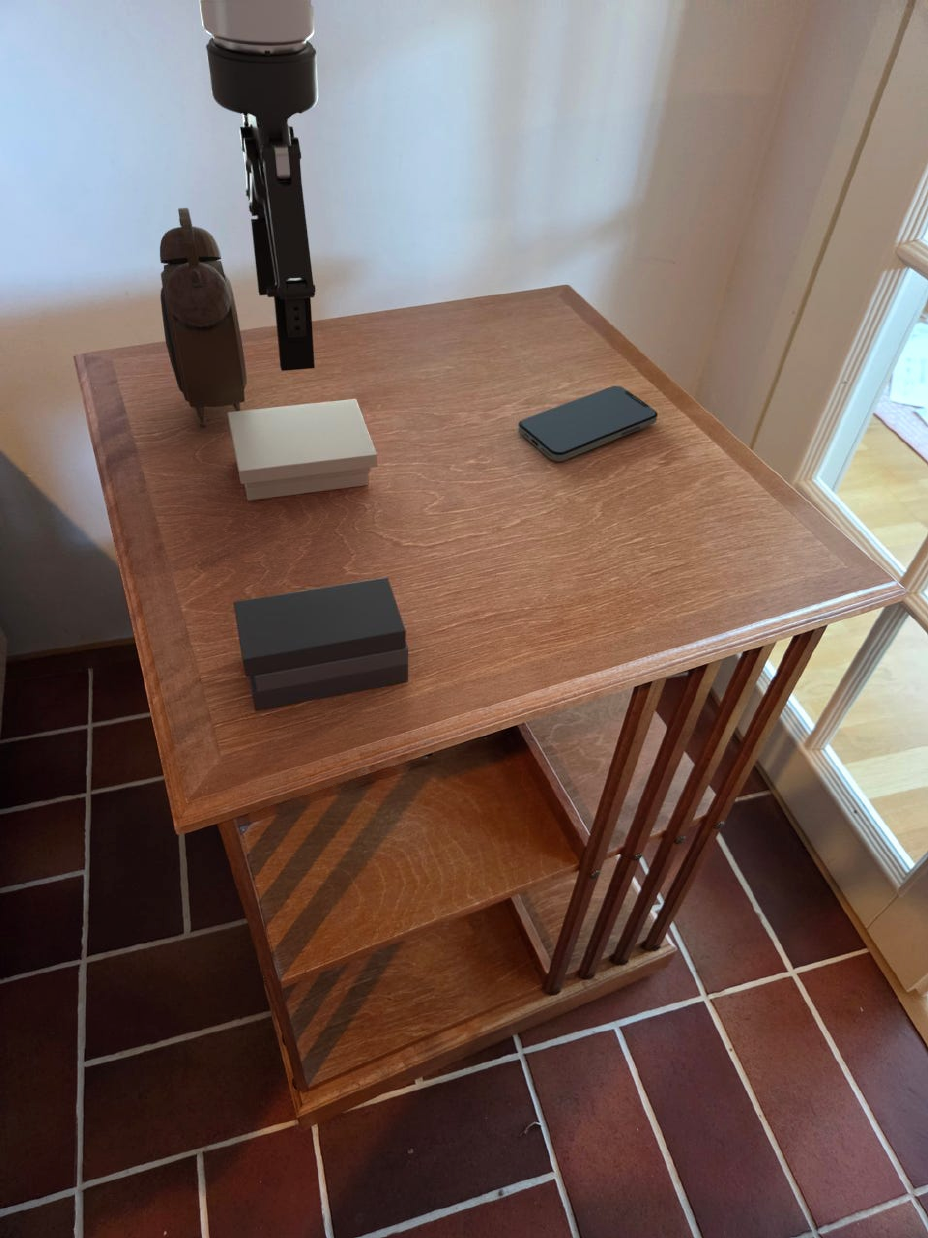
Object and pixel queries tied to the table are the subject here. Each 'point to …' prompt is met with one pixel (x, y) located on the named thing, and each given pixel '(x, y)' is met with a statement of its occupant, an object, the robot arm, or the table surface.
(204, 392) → the alarm clock
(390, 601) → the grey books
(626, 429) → the smartphone
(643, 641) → the table surface
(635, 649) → the table surface
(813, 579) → the table surface
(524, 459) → the table surface
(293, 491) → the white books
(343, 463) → the light grey rectangular slab
